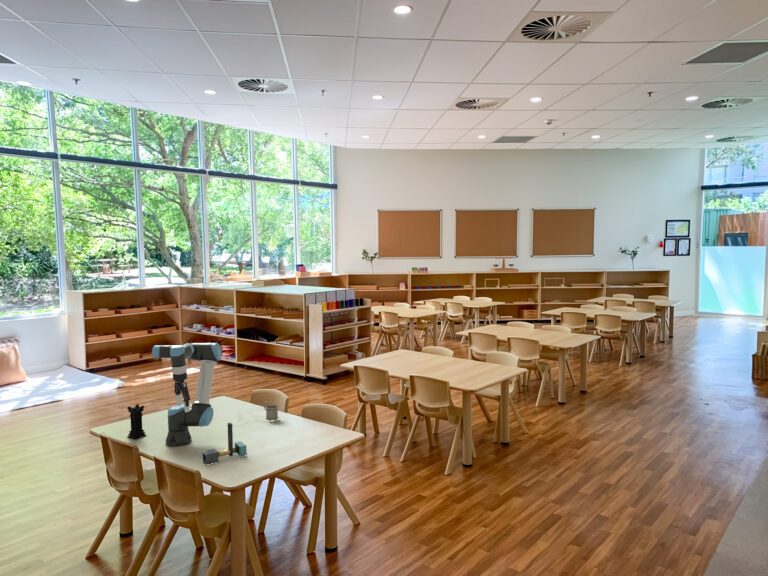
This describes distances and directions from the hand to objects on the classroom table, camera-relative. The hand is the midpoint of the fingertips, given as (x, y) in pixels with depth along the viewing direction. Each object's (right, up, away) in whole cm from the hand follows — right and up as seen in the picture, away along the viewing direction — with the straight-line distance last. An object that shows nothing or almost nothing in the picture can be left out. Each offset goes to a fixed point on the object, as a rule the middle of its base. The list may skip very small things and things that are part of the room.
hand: (183, 408), depth 289 cm
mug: (+33, -25, +73) cm, 84 cm away
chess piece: (-46, -28, +39) cm, 66 cm away
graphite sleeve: (+17, -30, -3) cm, 34 cm away
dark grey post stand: (+24, -28, +3) cm, 37 cm away
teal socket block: (+30, -29, +8) cm, 43 cm away
